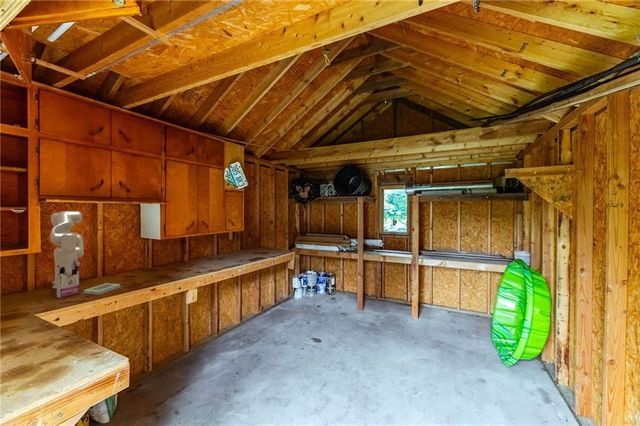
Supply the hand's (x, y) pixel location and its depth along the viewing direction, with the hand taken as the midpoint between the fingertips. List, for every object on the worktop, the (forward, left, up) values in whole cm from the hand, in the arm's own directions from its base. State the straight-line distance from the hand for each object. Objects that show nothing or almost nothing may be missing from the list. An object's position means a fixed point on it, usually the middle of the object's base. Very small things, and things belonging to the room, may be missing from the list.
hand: (68, 274), depth 187 cm
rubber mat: (+12, +14, -15) cm, 24 cm away
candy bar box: (-1, 0, -16) cm, 16 cm away
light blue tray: (+12, +14, -15) cm, 24 cm away
